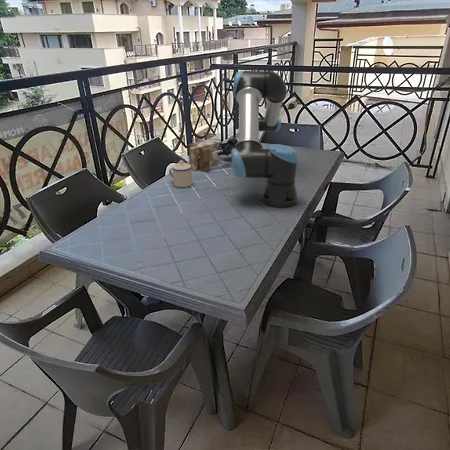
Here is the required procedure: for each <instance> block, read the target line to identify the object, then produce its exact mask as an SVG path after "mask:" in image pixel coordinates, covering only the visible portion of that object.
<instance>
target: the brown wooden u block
mask: <svg viewBox="0 0 450 450" xmlns="http://www.w3.org/2000/svg"><path fill="white" fill-rule="evenodd" d="M198 145H199V144H197V143H194V142H191V143H189V144H188V145H187V147H188V159H189V163H188V164H190V165H191V154H190V147H194V146H198ZM199 153H200V157H197V163H198V171H201V172H203V173H208V172H210V171H211V166H210V155H209V148H206V147H201V148H199Z"/></svg>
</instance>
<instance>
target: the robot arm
mask: <svg viewBox="0 0 450 450" xmlns="http://www.w3.org/2000/svg"><path fill="white" fill-rule="evenodd" d="M287 93H288V89H287V85H286V82H285V80H284V79H283V77H281V75H280V74H278V73H276V72H274V71H271V70H242V71H241V70H240V71H237V72H236V73H235V76H234V80H233V89H232V96H233V98H234V99H235V100H236V101H237V103H238V106H239V107H238V108H239V109H238V110H239V111H238V112H239V113H238V136H236V137H234V138H229V139H228V140H227V141H226V142H221V141H220V142H219V141H218V142H219V151H216V152H212V158H214V157H218V156H219V157H221V156H225V157H228V156H231V164H232V165H231V166H232V173H233V175H234V176H235V177H236V178H243V179H246V178H251V179H252V178H253V179H254V178H255V179H262V178H264V179H266V184H265V186H264V189H263V191H262V193H261V201H262V202H263V203H264V204H265V205H267V206H270V207H273V208H289V207H290V208H291V207H292V206H294V205H296V204H297V203H298V192H297V188H296V175H297V165H298V164H297V163H298V151H297V150H296V149H295V148H293V147H291V146H290V145H285V144H279V143H278V144H277V143H273V144H270V145H269V146H268V148H263V144H262V143H261V142H260V139H259V138H260V137H259V136H260V133H259V132H273V133H274V132H279V131H280V130H281V127H282V119H281V117H280V114H281V109H282V105H283V102H284V101H285V99H286V97H287ZM262 99H266V107H265V113H264V117H259V115H260V114H259V106H260V103H261V101H262Z"/></svg>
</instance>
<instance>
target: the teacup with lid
mask: <svg viewBox="0 0 450 450" xmlns="http://www.w3.org/2000/svg"><path fill="white" fill-rule="evenodd" d="M168 173H169V176H170V178H173V185H174V186H175V187H177V188H187V187H188V188H189V187H190V186H192V184H193V180H192V179H193V177H192V170H191V165H190V163H186V162H184V160H179V162H177V163H175V164H173V165H172V167H171V168H169V170H168Z"/></svg>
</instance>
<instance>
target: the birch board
mask: <svg viewBox="0 0 450 450" xmlns="http://www.w3.org/2000/svg"><path fill="white" fill-rule="evenodd" d="M197 145H198V146H194V147H190V154H191V171H194V172H196V171H199V169H198V163H197V157H199V158H200V153H199V148H201V147H206V148H209V155H210V167H213V166H217V165H220V156H218V157H214V158H212V152H216V151H219V141H211V142H208V143H206V142H205V143H203V144H197Z"/></svg>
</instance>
